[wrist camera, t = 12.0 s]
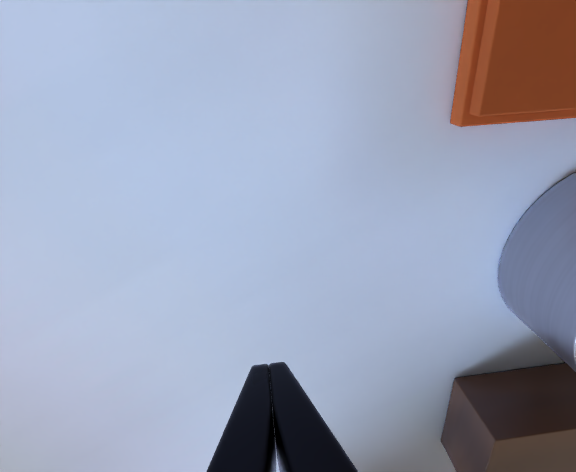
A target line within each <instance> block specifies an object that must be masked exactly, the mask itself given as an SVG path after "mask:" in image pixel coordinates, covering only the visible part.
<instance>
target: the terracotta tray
mask: <svg viewBox="0 0 576 472" xmlns="http://www.w3.org/2000/svg"><path fill="white" fill-rule="evenodd" d="M566 118H576V0H468V4H467V11H466V17H465V24H464V31H463V38H462V45H461V52H460V58H459V65H458V72H457V79H456V86H455V92H454V99H453V106H452V113H451V120H450V123H451V124H454V125H457V126H460V127H463V126H476V125H489V124H502V123H515V122H527V121H540V120H553V119H566Z"/></svg>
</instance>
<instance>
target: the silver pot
mask: <svg viewBox="0 0 576 472" xmlns="http://www.w3.org/2000/svg"><path fill="white" fill-rule="evenodd" d="M498 284H499V290H500V293H501V296H502V298H503V300H504V302H505V304H506V305H507V307H508V308H509V309H510V310H511V311H512V312H513V313H514V314H515V315H516V316H517V317H518V318H519V319H520V320H521V321H522V322H523V323H524V324H525V325H527V326H528V327H529V328H530V329H531V330H532V331H533V332H534V333H535V334H536V335H537V336H538V337H539V338H540V339H541V340H542V341H543V342H544V343H546V344H547V345H548V346H549V347H550V348H551V349H552V350H553V351H554V352H555V353H556V354H557V355H558V356H559V357H560V358H561V359H562V360H563V361H565V362H566V363H567V364H568V365H569V366H570V367H571V368H572V369H573V370H574V371H575V372H576V172H575V173H573V174H571V175H570V176H568V177H567V178H565V179H563V180H562V181H560V182H559V183H557V184H556V185H555V186H553V187H552V188H551V189H549V190H548V191H547V192H545V193H544V194H543V195H542V196H541V197H540V198H539V199H538V200H537V201H536V202H535V203H534V204H533V205H532V206H531V207H530V208H529V209H528V210H527V211H526V212H525V214H524V215H523V216H522V218H521V219H520V220H519V222H518V223H517V224H516V226H515V227H514V229H513V231H512V232H511V234H510V236H509V238H508V240H507V242H506V244H505V246H504V249H503V252H502V255H501V258H500V262H499V268H498Z"/></svg>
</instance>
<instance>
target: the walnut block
mask: <svg viewBox="0 0 576 472" xmlns="http://www.w3.org/2000/svg"><path fill="white" fill-rule="evenodd" d="M441 442H442V444H443V446H444V448H445V450H446V452H447V454H448V456H449V458H450V460H451V462H452V464H453V466H454V468H455V470H456V472H576V372H575V371H574V370H573V369H572V368H571V367H570V366H569V365H568V364H567V363H563V364H556V365H548V366H541V367H533V368H526V369H519V370H511V371H504V372H496V373H489V374H481V375H474V376H467V377H459V378H455V379H454V382H453V387H452V391H451V396H450V400H449V405H448V409H447V414H446V419H445V423H444V428H443V432H442V437H441Z"/></svg>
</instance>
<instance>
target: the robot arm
mask: <svg viewBox="0 0 576 472" xmlns="http://www.w3.org/2000/svg"><path fill="white" fill-rule="evenodd" d="M269 374H270V376H269ZM270 385H271V387H270ZM271 397H272V399H271ZM272 408H273V410H272ZM273 420H274V422H273ZM274 431H275V433H274ZM275 442H276V445H275ZM276 452H277V459H278V465H279V470H280V472H358V471H357V469H356V468H355V466H354V465H353V463H352V462H351V460H350V459H349V457H348V456H347V454H346V453H345V451H344V450H343V448H342V447H341V445H340V444H339V442H338V441H337V439H336V438H335V436H334V435H333V433H332V432H331V430H330V429H329V427H328V426H327V424H326V423H325V421H324V420H323V418H322V417H321V415H320V414H319V412H318V411H317V409H316V408H315V407H314V405H313V404H312V402H311V401H310V399H309V398H308V396H307V395H306V393H305V392H304V390H303V389H302V387H301V386H300V384H299V383H298V381H297V380H296V378H295V377H294V375H293V374H292V372H291V371H290V369H289V368H288V366H287V365H286V364H285V363H284V362H278V363H271V364H270V365H269V366H268V365H267V364H261V365H254V366H252V368H251V370H250V372H249V374H248V377H247V379H246V381H245V384H244V386H243V388H242V391H241V393H240V395H239V398H238V400H237V402H236V405H235V407H234V409H233V412H232V414H231V416H230V418H229V421H228V423H227V425H226V428H225V430H224V432H223V435H222V437H221V439H220V442H219V444H218V446H217V449H216V451H215V453H214V456H213V458H212V460H211V462H210V465H209V467H208V469H207V472H276Z"/></svg>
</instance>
